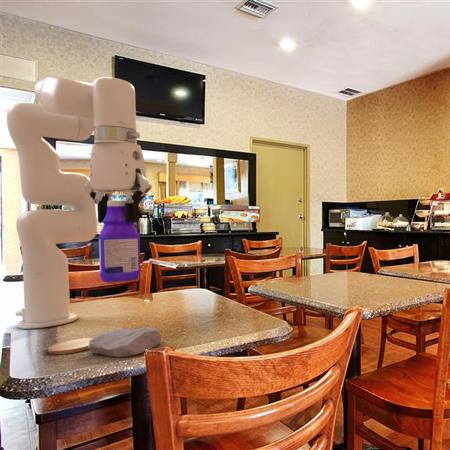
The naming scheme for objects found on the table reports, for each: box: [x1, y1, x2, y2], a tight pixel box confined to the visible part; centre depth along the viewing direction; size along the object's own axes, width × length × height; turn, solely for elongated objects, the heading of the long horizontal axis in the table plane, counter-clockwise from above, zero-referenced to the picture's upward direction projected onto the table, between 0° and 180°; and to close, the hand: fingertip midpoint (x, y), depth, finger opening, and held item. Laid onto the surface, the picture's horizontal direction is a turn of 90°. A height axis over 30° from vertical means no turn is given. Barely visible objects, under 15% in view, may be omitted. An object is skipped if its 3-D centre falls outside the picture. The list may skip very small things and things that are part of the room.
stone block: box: [87, 326, 162, 358], centre depth 89 cm, size 12×5×10 cm
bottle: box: [98, 200, 141, 283], centre depth 88 cm, size 7×6×17 cm
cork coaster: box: [47, 337, 94, 355], centre depth 91 cm, size 9×9×1 cm
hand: (119, 221), depth 88 cm, fingers closed on bottle, 5 cm apart
